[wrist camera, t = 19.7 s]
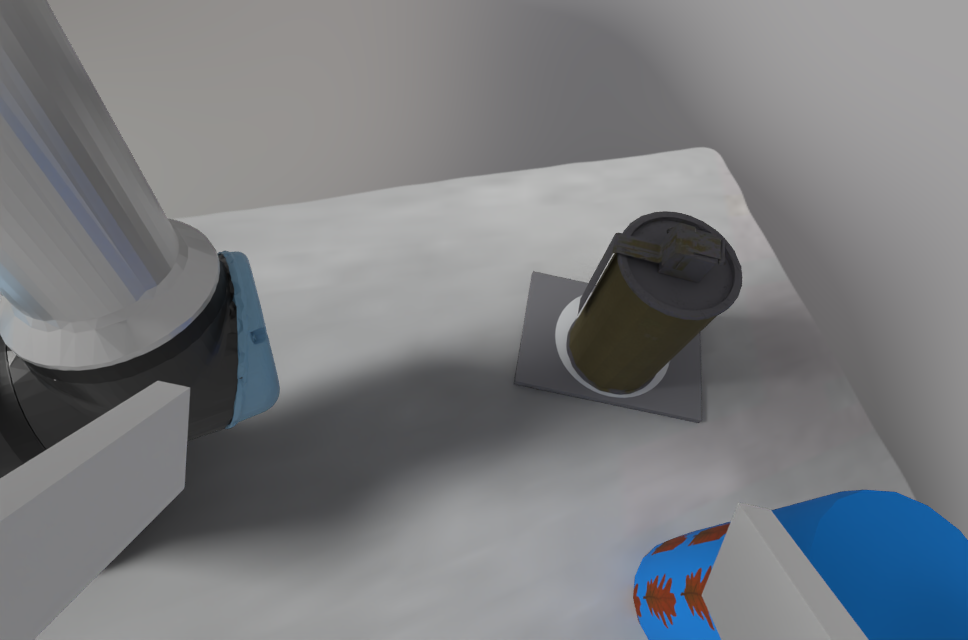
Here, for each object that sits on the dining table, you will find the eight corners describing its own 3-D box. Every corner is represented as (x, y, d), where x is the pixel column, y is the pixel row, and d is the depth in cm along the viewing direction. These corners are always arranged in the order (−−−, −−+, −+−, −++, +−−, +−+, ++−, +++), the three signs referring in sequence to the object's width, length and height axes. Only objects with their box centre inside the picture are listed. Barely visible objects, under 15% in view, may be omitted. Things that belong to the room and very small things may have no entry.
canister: (661, 321, 62) (760, 208, 44) (654, 406, 57) (762, 316, 39) (569, 297, 62) (631, 175, 44) (554, 379, 57) (617, 278, 39)
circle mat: (514, 383, 57) (515, 380, 56) (531, 274, 64) (533, 270, 63) (698, 422, 57) (702, 420, 57) (696, 310, 64) (700, 306, 63)
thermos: (636, 668, 46) (837, 723, 24) (626, 534, 51) (785, 480, 29) (757, 673, 47) (1057, 731, 25) (735, 541, 52) (969, 493, 30)
